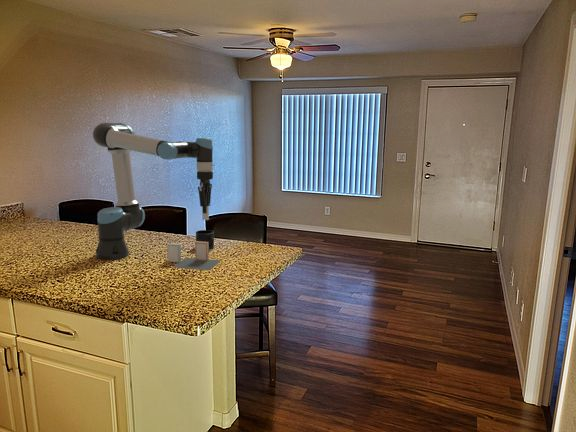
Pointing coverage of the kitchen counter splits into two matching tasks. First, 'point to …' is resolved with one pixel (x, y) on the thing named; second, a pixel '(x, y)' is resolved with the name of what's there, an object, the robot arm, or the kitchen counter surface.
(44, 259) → the kitchen counter surface
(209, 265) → the mat
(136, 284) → the kitchen counter surface
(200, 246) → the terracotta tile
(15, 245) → the kitchen counter surface
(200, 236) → the mug
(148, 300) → the kitchen counter surface
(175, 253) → the grey tile
